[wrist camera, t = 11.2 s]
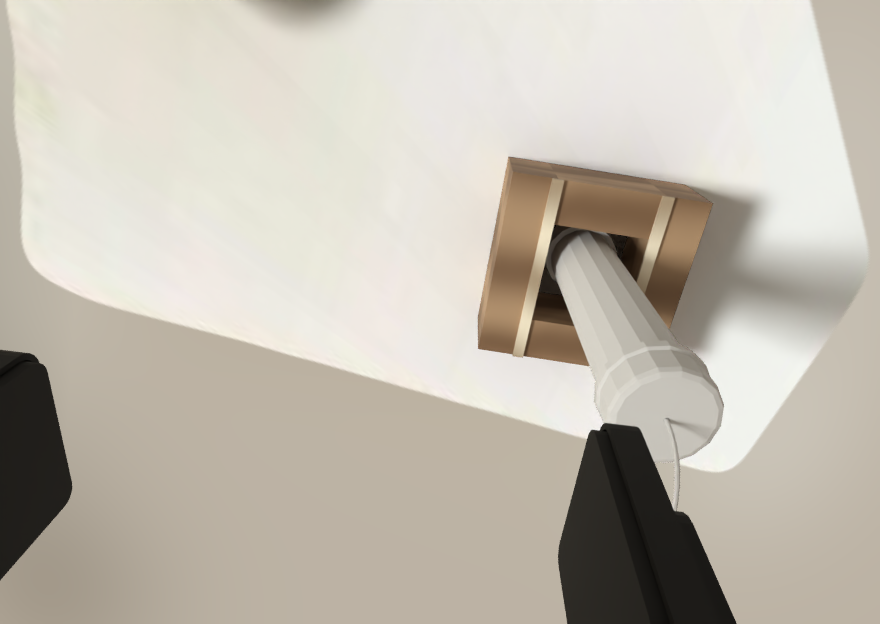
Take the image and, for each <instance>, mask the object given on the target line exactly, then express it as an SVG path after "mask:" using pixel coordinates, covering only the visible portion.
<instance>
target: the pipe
mask: <svg viewBox="0 0 880 624" xmlns="http://www.w3.org/2000/svg"><path fill="white" fill-rule="evenodd" d="M545 265H546V267H547V270H548V272H549V274H550V276H551V278H552V279H553V280H554V281H555V282H556V283H557V284H559V287H560V289H561V292H562V295H563V297H564V300H565V303H566V305H567V308H568V310H569V313H570V316H571V318H572V321H573V324H574V326H575V329H576V331H577V334H578V337H579V339H580V342H581V345H582V347H583V350H584V352H585V355H586V358H587V360H588V363H589V366H590V368H591V371H592V373H593V376H594V379H595V381H596V382H595V392H594V402H595V405H596V408H597V410H598V412H599V414H600V416H601V419H602V421H603V423H611V424H619V425H628V426H636V427H638V428H640V430H641V432H642V434H643V436H644V439H645V441H646V444H647V446H648V449H649V451H650V453H651V456H652V458H653V461H654V463H664V462H674V468H675V477H674V479H675V480H674V481H675V482H674V495H673V502H672V507H673V509H674V511H677V505H678V499H679V489H680V464H679V460H680V459H683V458H686V457H689V456H692V455H694V454H695V453H696V452H698V451H699V450H700V449H702V448H703V447H704V446H706V445H707V444H709V443H710V442H711V440H712V438H713V437H714V435H715V434H716V432H717V431H718V429H719V428H720V426H721V421H722V415H723V408H724V404H723V401H722V398H721V395H720V393H719V390H718V387H717V385H716V384H715V383H714V381H713V380H712V379H711V377H710V375H709V372H708V370H707V367H706V365H705V364H704V362H703V361H702V360H701V359H700V358H699V357H698V356H697V355H695V354H694V353H693V352H692V351H691V350H690V349H689V348H688V347H685V346H682V345H680V344H679V343H678V341H677V340H676V338H675V337H674V336H673V334H672V333H671V331H670V330H669V329H668V327H667V326H666V324H665V323H664V321H663V320H662V319H661V317H660V316H659V314H658V313H657V311H656V310H655V309H654V307H653V306H652V304H651V303H650V302H649V300H648V299H647V297H646V296H645V294H644V293H643V292H642V290H641V289H640V287H639V286H638V285H637V283H636V282H635V280H634V279H633V277H632V276H631V275H630V273H629V272H628V270H627V269H626V268H625V266H624V265H623V263H622V262H621V260H620V259H619V258H618V256H617V255H616V248H615V245H614V243H613V240H612V238H611V237H610V236H609V235H608V234H607V233H604V232H598V231H592V230H585V229H579V228H573V227H566V226H560V225H558V226H557V227H556V228H555V229H554V230H553V231H552V236H551V240H550V244H549V248H548V253H547V257H546V261H545Z"/></svg>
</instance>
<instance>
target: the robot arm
mask: <svg viewBox="0 0 880 624" xmlns="http://www.w3.org/2000/svg"><path fill="white" fill-rule="evenodd" d="M71 491H72V481H71V476H70V472H69V467H68V463H67V458H66V454H65V449H64V445H63V440H62V436H61V431H60V426H59V422H58V418H57V413H56V408H55V404H54V399H53V395H52V391H51V386H50V381H49V377H48V372H47V369H46V367H45V366H44V365H43V364H40V363H39V361H38V359H37V358H36V357H35V356H34V355H32V354H30V353H22V352H13V351H6V350H0V580H1V579H2V578H3V576H4V575H5V574H6V573H7V572H8V571H9V569H10V568H11V567H12V566H13V565H14V564H15V562H17V560H18V559H19V558H20V557H21V556H22V555H23V553H24V552H25V551H26V550H27V549H28V548H29V547H30V545H31V544H32V543H33V542H34V541H35V540H36V538H37V537H38V536H39V535H40V534H41V533H42V532H43V530H44V529H45V528H46V527H47V526H48V525H49V524H50V523H51V521H52V520H53V519H54V518H55V517H56V516H57V515H58V513H59V512H60V511H61V510H62V509H63V508H64V506H65V505H66V504H67V502H68V500H69V498H70V495H71ZM558 563H559V571H560V578H561V585H562V591H563V598H564V604H565V611H566V617H567V624H736V621H735V619H734V617H733V614H732V612H731V610H730V608H729V605H728V603H727V601H726V598H725V596H724V594H723V592H722V589H721V587H720V585H719V582H718V580H717V578H716V576H715V573H714V571H713V569H712V566H711V564H710V562H709V560H708V557H707V555H706V553H705V551H704V548H703V546H702V544H701V541H700V539H699V537H698V535H697V532H696V530H695V528H694V525H693V523H692V522H691V520H690V518H689V517H688V516H687V515H686V514H685V513H683V512H677V511H674V509H673V507H672V505H671V502H670V500H669V497H668V495H667V492H666V490H665V487H664V485H663V483H662V480H661V478H660V475H659V473H658V470H657V468H656V466H655V463H654V461H653V458H652V456H651V453H650V451H649V449H648V446H647V444H646V441H645V439H644V436H643V434H642V432H641V430H640V428H638V427H636V426H628V425H619V424H611V423H604V424H603V425H602V427H601V429H600V431H597V430H591V431H590V433H589V435H588V439H587V442H586V446H585V450H584V454H583V458H582V461H581V465H580V469H579V473H578V476H577V480H576V484H575V488H574V491H573V495H572V499H571V503H570V506H569V510H568V514H567V518H566V521H565V525H564V529H563V533H562V537H561V540H560V545H559V554H558Z"/></svg>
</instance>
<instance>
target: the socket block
mask: <svg viewBox="0 0 880 624" xmlns="http://www.w3.org/2000/svg"><path fill="white" fill-rule="evenodd" d="M712 205H713V203H711V202H710V201H708V200H707V199H705V198H704V197H702V196H701V195H699V194H698V193H696V192H695V191H693V190H692V189H690V188H689V187H687V186H686V185H683V184H677V183H670V182H664V181H658V180H651V179H645V178H639V177H633V176H626V175H620V174H614V173H607V172H601V171H595V170H589V169H582V168H576V167H570V166H563V165H557V164H551V163H545V162H538V161H532V160H526V159H519V158H513V157H508V163H507V168H506V173H505V178H504V183H503V189H502V194H501V199H500V204H499V210H498V215H497V220H496V225H495V230H494V236H493V241H492V246H491V251H490V256H489V262H488V267H487V272H486V277H485V283H484V288H483V293H482V298H481V303H480V309H479V314H478V349H482V350H489V351H495V352H502V353H508V354H513V356H516V357H522V358H523V356H527V357H534V358H540V359H547V360H553V361H559V362H566V363H572V364H579V365H585V366H589V363H588V360H587V358H586V355H585V352H584V350H583V347H582V345H581V342H580V339H579V337H578V334H577V331H576V329H575V326H574V324H573V321H572V318H571V316H570V313H569V310H568V308H567V305H566V303H565V300H564V297H563V296H561V295H554V294H548V293H542V292H538V291H539V287H540V282H541V278H542V274H543V270H544V265H545V261H546V257H547V253H548V248H549V244H550V240H551V236H552V231H553V227H554V225H560V226H566V227H573V228H579V229H585V230H592V231H598V232H604V233H611V234H617V235H623V236H628V237H627V240H626V244H625V247H624V251H623V254H622V257H621V262H622V263H623V265H624V266H625V268H626V269H627V270H628V272H629V273H630V275H631V276H632V277H633V279H634V280H635V282H636V283H637V285H638V286H639V287H640V289H641V290H642V292H643V293H644V294H645V296H646V297H647V299H648V300H649V302H650V303H651V304H652V306H653V307H654V309H655V310H656V311H657V313H658V314H659V316H660V317H661V319H662V320H663V321H664V323H665V324H666V326H667V327H668V329H669V328H670V326H671V323H672V320H673V317H674V314H675V311H676V308H677V305H678V303H679V300H680V297H681V294H682V291H683V288H684V285H685V282H686V280H687V277H688V274H689V271H690V268H691V265H692V262H693V259H694V257H695V254H696V251H697V248H698V245H699V242H700V239H701V236H702V234H703V231H704V228H705V225H706V222H707V219H708V216H709V213H710V211H711V208H712Z"/></svg>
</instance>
